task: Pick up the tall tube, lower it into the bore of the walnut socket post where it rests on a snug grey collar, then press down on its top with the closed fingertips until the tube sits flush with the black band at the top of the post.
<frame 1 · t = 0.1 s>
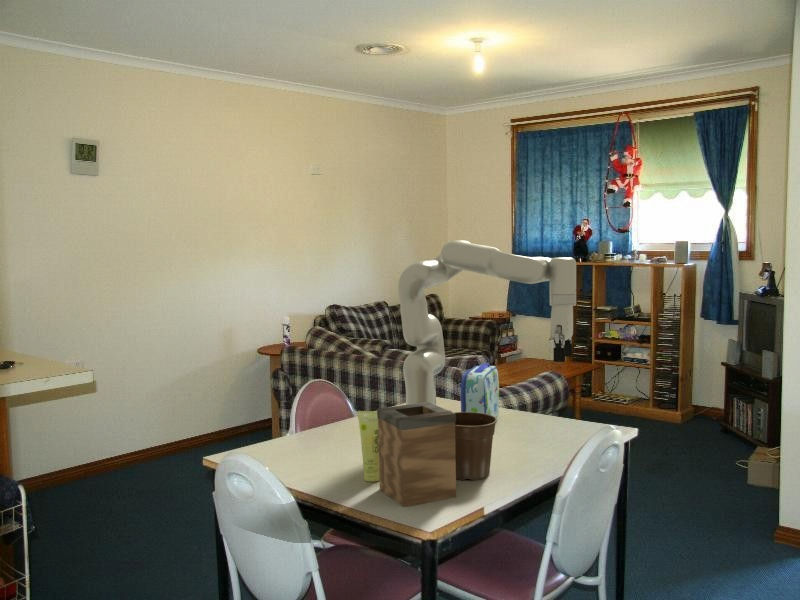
hand: (562, 358, 215), 31 cm above the table, tool pointing down, fingers open, 9 cm apart
lunch box: (480, 424, 266), on the table
collar: (416, 444, 194), point 13 cm above the table, slide at 0.0 cm
tube: (372, 480, 207), on the table
socket: (417, 493, 195), on the table
plant pot: (468, 474, 210), on the table
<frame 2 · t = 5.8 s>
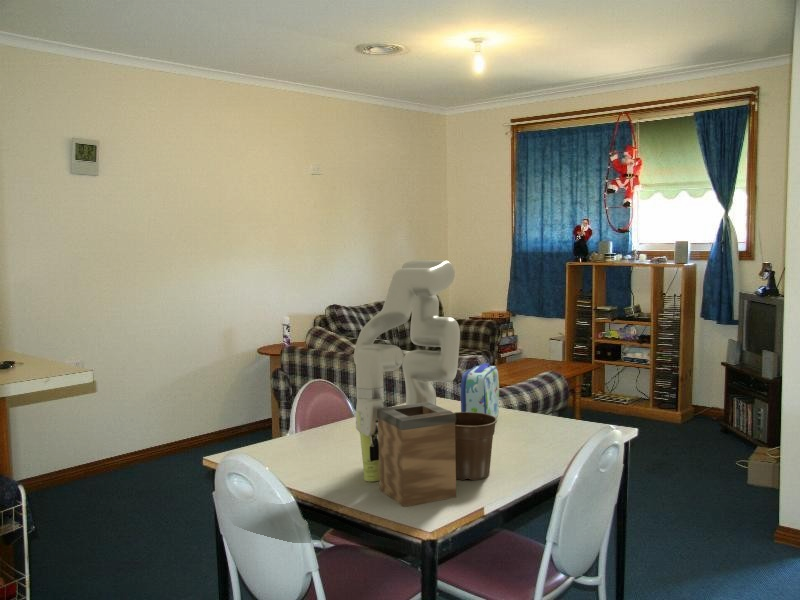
hand: (371, 456, 206), 6 cm above the table, tool pointing down, fingers closed on tube, 4 cm apart
tube: (372, 480, 207), on the table, touching gripper
everything else where it was.
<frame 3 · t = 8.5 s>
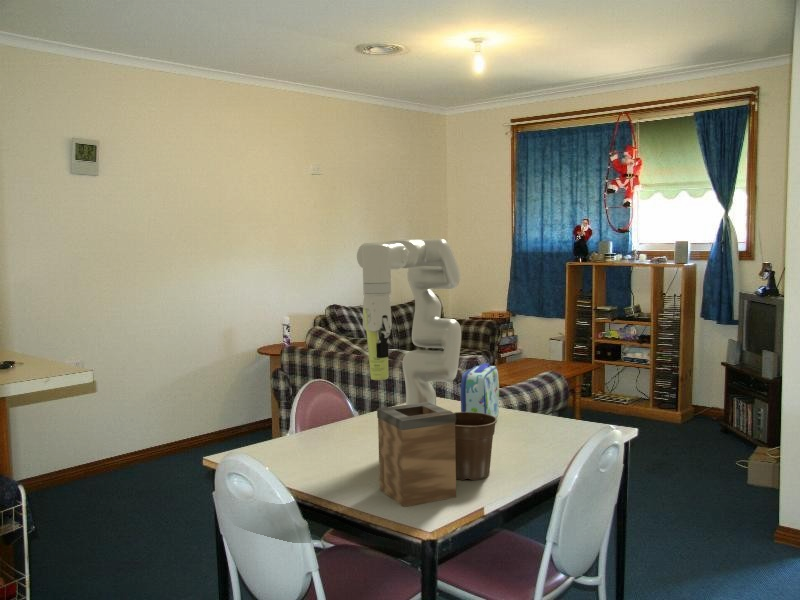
hand: (378, 355, 201), 35 cm above the table, tool pointing down, fingers closed on tube, 4 cm apart
tube: (378, 379, 202), point 29 cm above the table, touching gripper
everything else where it was.
when the fingers open (22 cm above the table, at t = 11.2 s): tube drops 13 cm, resting on collar.
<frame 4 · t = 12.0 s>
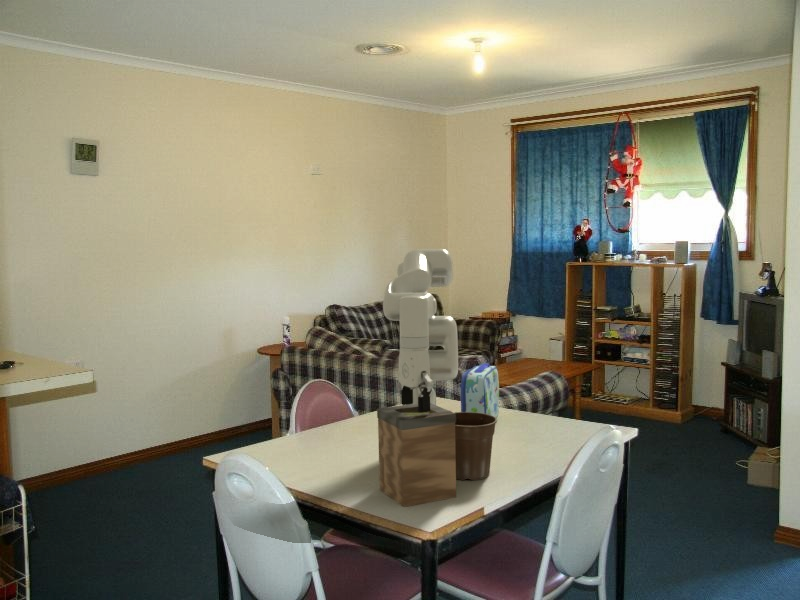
hand: (415, 407, 193), 23 cm above the table, tool pointing down, fingers open, 9 cm apart
collar: (417, 489, 195), point 1 cm above the table, slide at 12.0 cm, touching tube
tube: (416, 485, 195), point 2 cm above the table, touching collar
everything else where it was.
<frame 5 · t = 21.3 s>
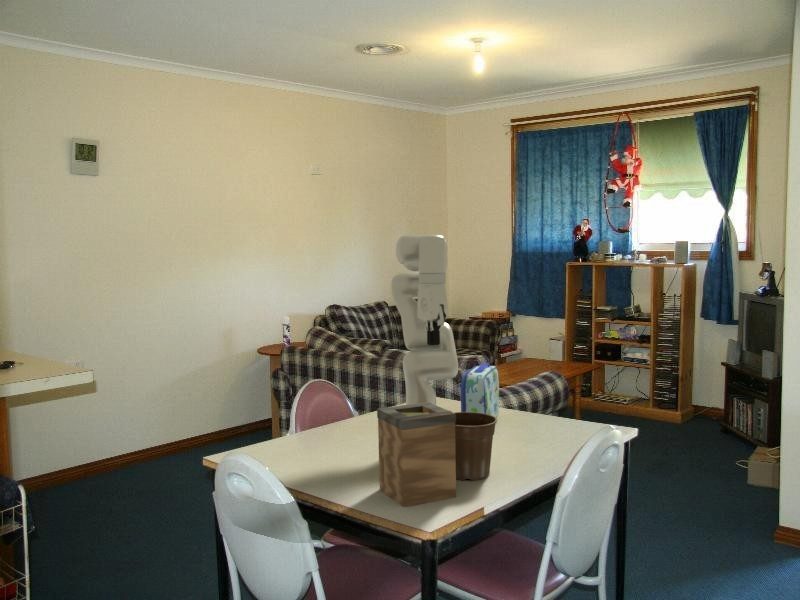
hand: (433, 344, 208), 37 cm above the table, tool pointing down, fingers closed
nothing on the table moved.
at the end: collar slide at 12.0 cm; tube 0.3 cm off-centre on the socket, point 1.8 cm above the socket's base; the gripper is holding nothing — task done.
